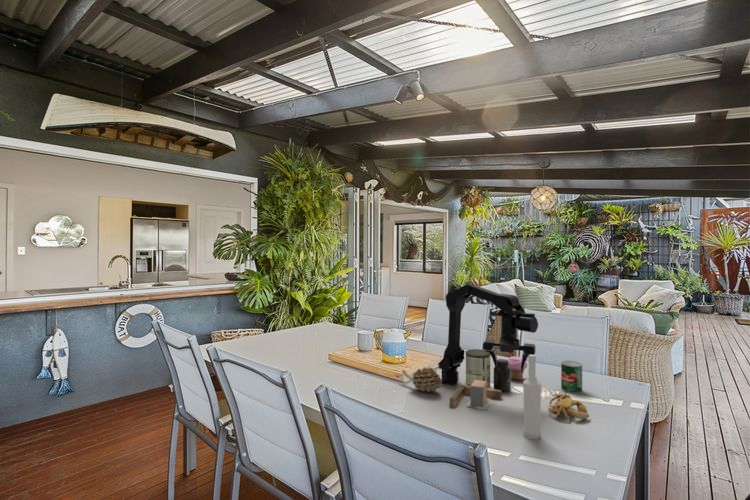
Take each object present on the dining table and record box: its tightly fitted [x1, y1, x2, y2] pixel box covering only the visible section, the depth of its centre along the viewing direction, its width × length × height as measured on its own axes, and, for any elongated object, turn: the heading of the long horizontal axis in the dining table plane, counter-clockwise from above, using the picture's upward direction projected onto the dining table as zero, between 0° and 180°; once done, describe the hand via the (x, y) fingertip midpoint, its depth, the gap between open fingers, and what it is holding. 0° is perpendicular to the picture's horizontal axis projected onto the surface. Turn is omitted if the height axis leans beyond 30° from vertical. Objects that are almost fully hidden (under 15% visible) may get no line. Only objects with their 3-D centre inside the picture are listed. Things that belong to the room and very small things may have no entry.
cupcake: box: [507, 355, 528, 381], centre depth 182 cm, size 9×9×10 cm
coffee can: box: [465, 348, 491, 389], centre depth 173 cm, size 10×10×14 cm
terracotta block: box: [470, 380, 487, 407], centre depth 153 cm, size 8×4×7 cm, turn 155°
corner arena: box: [449, 384, 502, 411], centre depth 154 cm, size 16×17×3 cm
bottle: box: [522, 354, 542, 440], centre depth 127 cm, size 5×5×25 cm
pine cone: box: [401, 366, 443, 393], centre depth 168 cm, size 22×10×10 cm, turn 44°
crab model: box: [548, 392, 590, 423], centre depth 143 cm, size 16×13×6 cm
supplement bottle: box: [493, 358, 512, 393], centre depth 168 cm, size 7×7×12 cm
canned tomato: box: [560, 360, 583, 395], centre depth 167 cm, size 8×8×11 cm
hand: (508, 369), depth 156 cm, fingers open, 9 cm apart
